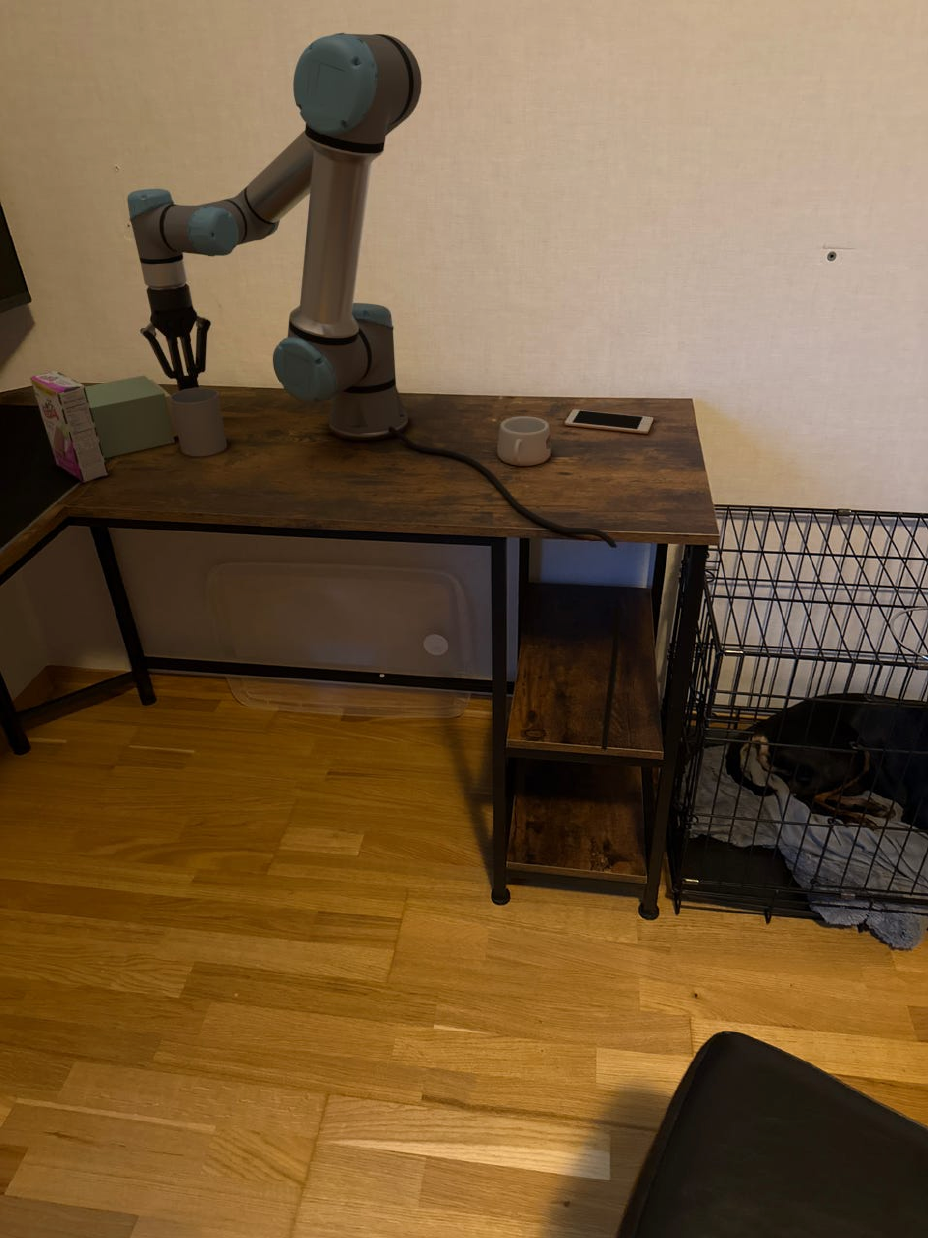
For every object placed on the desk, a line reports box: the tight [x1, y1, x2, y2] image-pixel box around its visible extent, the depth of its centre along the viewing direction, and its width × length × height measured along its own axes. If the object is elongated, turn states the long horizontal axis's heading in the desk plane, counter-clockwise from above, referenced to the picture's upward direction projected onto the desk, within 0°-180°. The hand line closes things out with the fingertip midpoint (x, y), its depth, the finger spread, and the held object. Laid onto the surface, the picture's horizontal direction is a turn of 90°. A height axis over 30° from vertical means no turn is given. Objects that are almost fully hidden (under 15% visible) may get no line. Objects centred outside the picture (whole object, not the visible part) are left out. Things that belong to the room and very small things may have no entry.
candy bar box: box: [29, 370, 109, 484], centre depth 148 cm, size 11×5×16 cm, turn 45°
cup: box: [170, 387, 228, 457], centre depth 158 cm, size 8×8×10 cm
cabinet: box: [85, 375, 176, 459], centre depth 162 cm, size 15×13×10 cm
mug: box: [496, 415, 552, 467], centre depth 152 cm, size 12×10×6 cm
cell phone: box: [564, 408, 654, 435], centre depth 168 cm, size 8×16×1 cm, turn 71°
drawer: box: [149, 379, 178, 438], centre depth 164 cm, size 18×11×8 cm, turn 124°
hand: (193, 410), depth 169 cm, fingers closed
